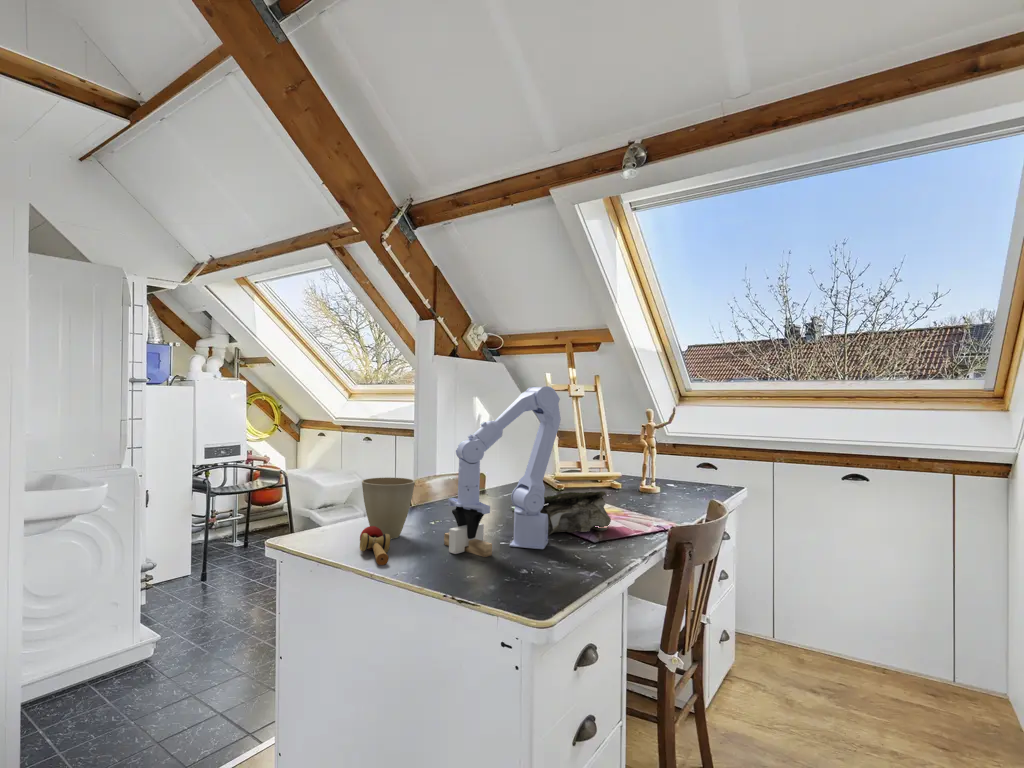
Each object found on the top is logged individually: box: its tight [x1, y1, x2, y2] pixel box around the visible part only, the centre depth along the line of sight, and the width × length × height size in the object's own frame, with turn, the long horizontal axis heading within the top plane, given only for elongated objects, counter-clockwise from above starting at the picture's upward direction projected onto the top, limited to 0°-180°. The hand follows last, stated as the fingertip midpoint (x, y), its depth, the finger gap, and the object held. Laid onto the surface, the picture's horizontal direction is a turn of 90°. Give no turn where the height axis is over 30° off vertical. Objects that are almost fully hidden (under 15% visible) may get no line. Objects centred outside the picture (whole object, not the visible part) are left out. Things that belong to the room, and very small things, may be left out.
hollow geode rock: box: [540, 490, 612, 536], centre depth 168 cm, size 28×13×15 cm
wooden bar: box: [443, 532, 493, 558], centre depth 147 cm, size 16×2×3 cm, turn 47°
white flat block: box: [448, 522, 485, 555], centre depth 146 cm, size 2×10×6 cm, turn 137°
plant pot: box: [361, 476, 416, 540], centre depth 158 cm, size 15×15×16 cm
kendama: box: [359, 525, 391, 566], centre depth 140 cm, size 8×6×18 cm
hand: (467, 536), depth 147 cm, fingers open, 3 cm apart
